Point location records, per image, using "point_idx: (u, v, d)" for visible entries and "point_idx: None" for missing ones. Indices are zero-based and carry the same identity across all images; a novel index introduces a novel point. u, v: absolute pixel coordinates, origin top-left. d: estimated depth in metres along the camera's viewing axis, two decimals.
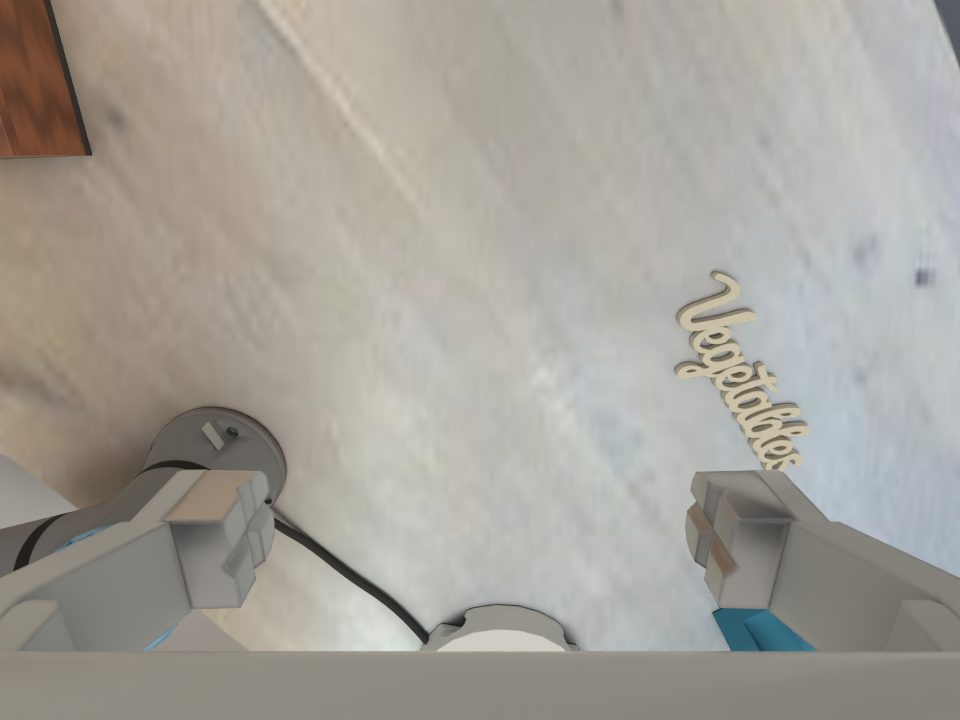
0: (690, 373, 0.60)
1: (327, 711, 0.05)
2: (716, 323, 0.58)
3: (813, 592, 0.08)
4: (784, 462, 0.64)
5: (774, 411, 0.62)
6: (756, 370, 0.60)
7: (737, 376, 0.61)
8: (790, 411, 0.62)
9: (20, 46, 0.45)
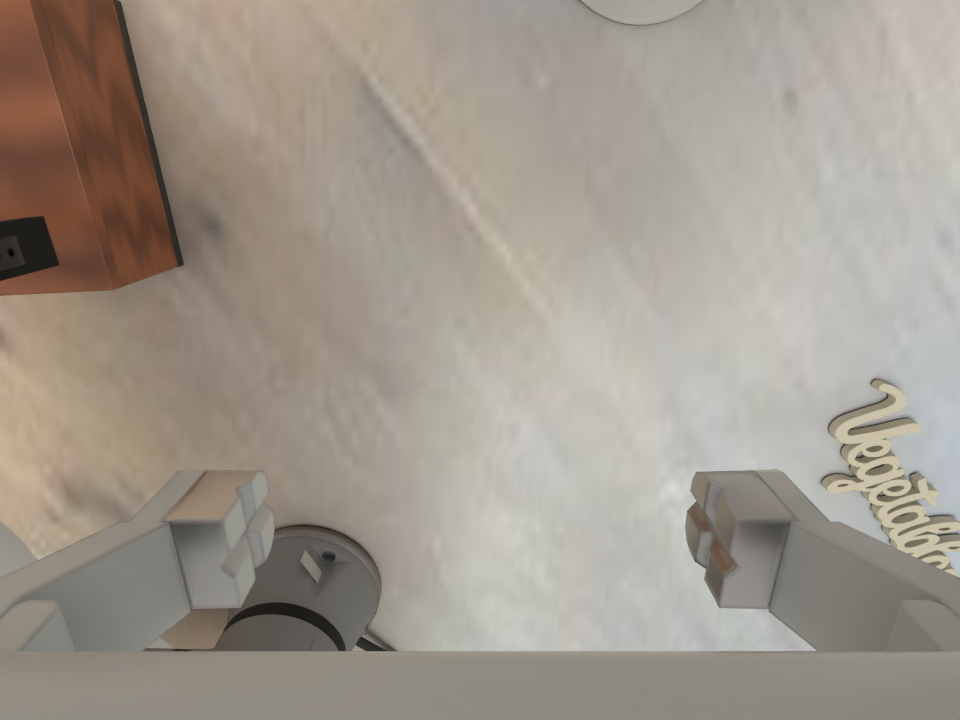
0: (841, 487, 0.54)
1: (327, 711, 0.05)
2: (876, 436, 0.52)
3: (813, 592, 0.08)
4: None
5: (931, 526, 0.55)
6: (914, 483, 0.54)
7: (892, 488, 0.54)
8: (949, 525, 0.55)
9: (118, 161, 0.39)
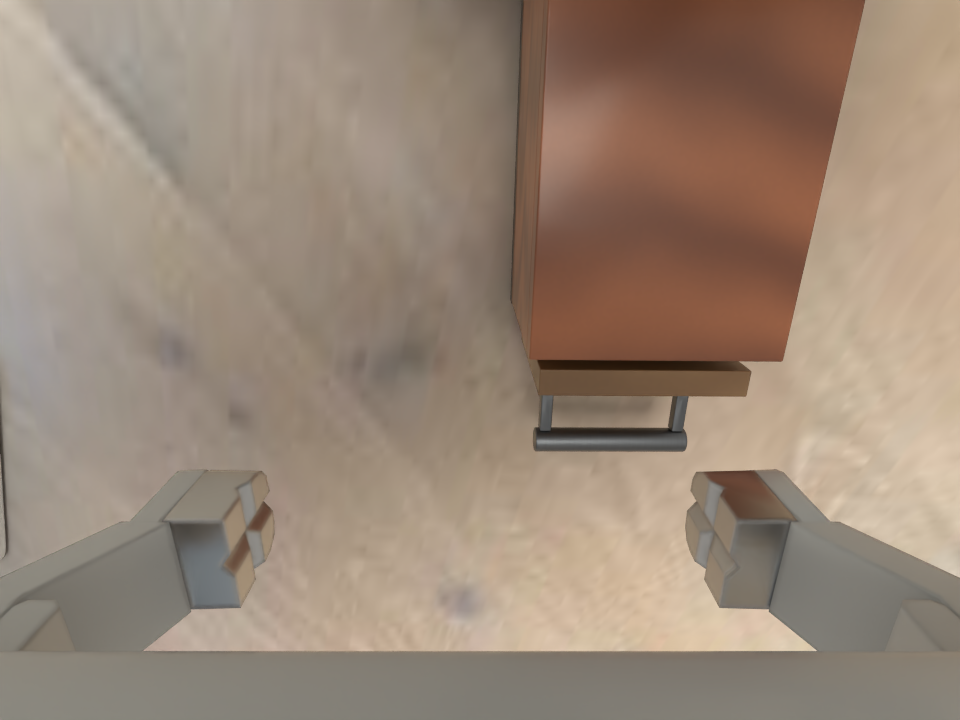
0: None
1: (327, 711, 0.05)
2: None
3: (813, 592, 0.08)
4: None
5: None
6: None
7: None
8: None
9: (531, 62, 0.22)
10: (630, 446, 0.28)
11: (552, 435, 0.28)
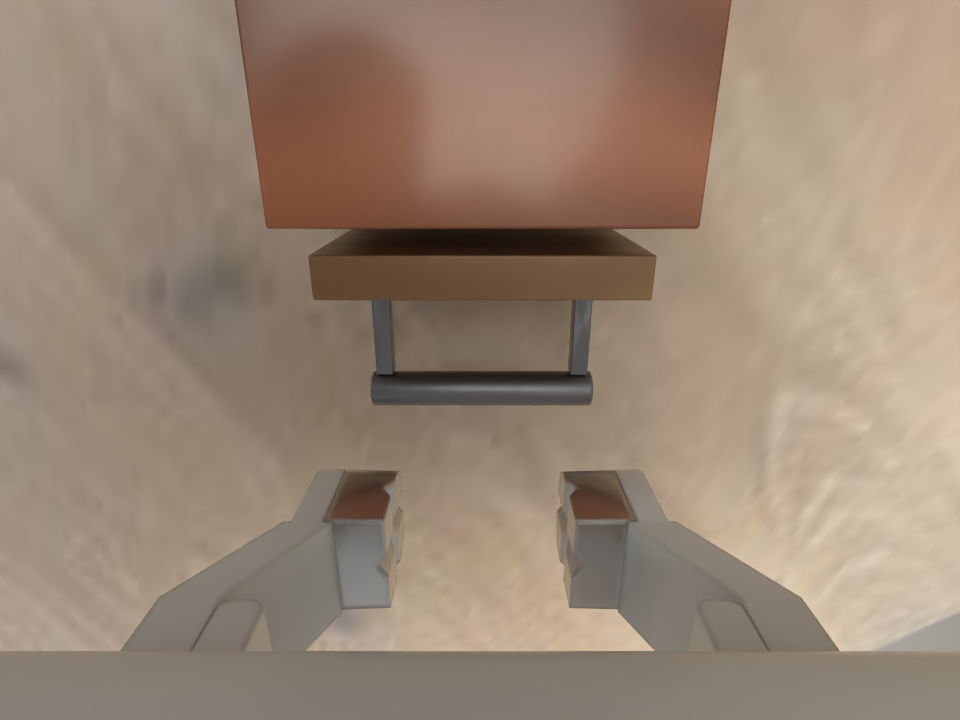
0: None
1: (327, 711, 0.05)
2: None
3: (648, 592, 0.08)
4: None
5: None
6: None
7: None
8: None
9: None
10: (509, 397, 0.19)
11: (394, 380, 0.19)
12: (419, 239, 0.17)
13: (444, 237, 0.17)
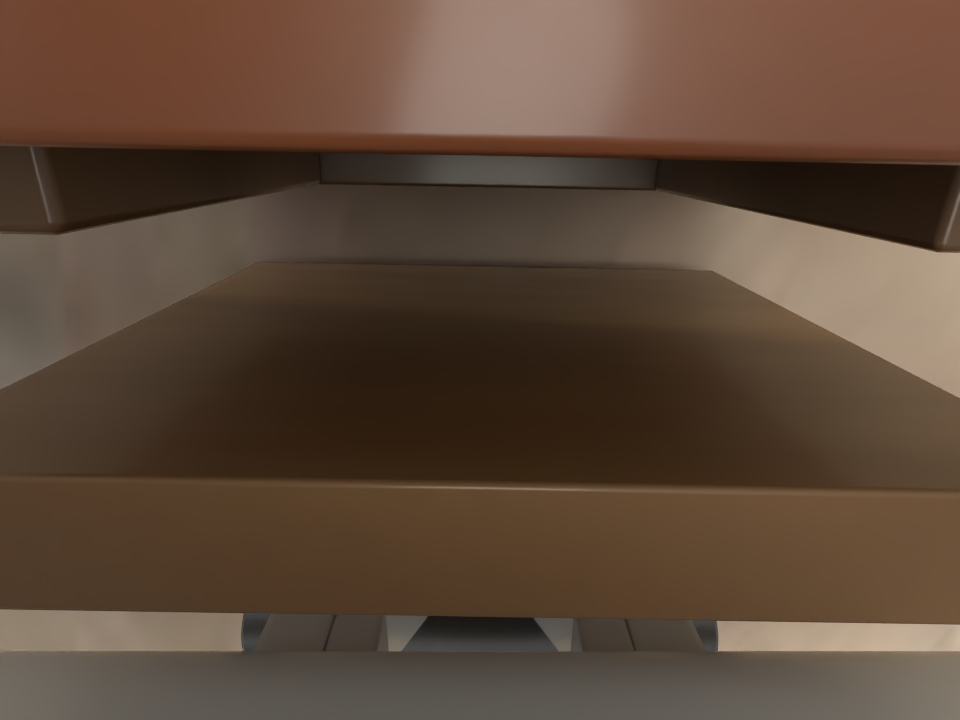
0: None
1: (327, 711, 0.05)
2: None
3: None
4: None
5: None
6: None
7: None
8: None
9: None
10: None
11: None
12: (321, 346, 0.06)
13: (391, 337, 0.06)
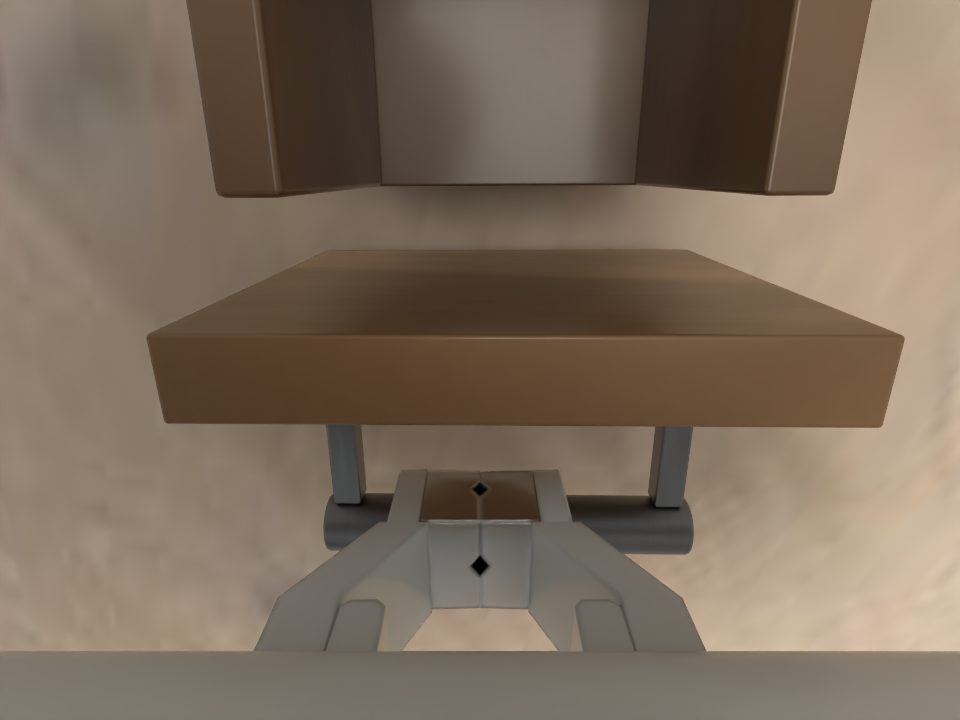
0: None
1: (327, 711, 0.05)
2: None
3: (550, 592, 0.08)
4: None
5: None
6: None
7: None
8: None
9: None
10: None
11: (363, 514, 0.12)
12: (397, 289, 0.09)
13: (443, 284, 0.09)
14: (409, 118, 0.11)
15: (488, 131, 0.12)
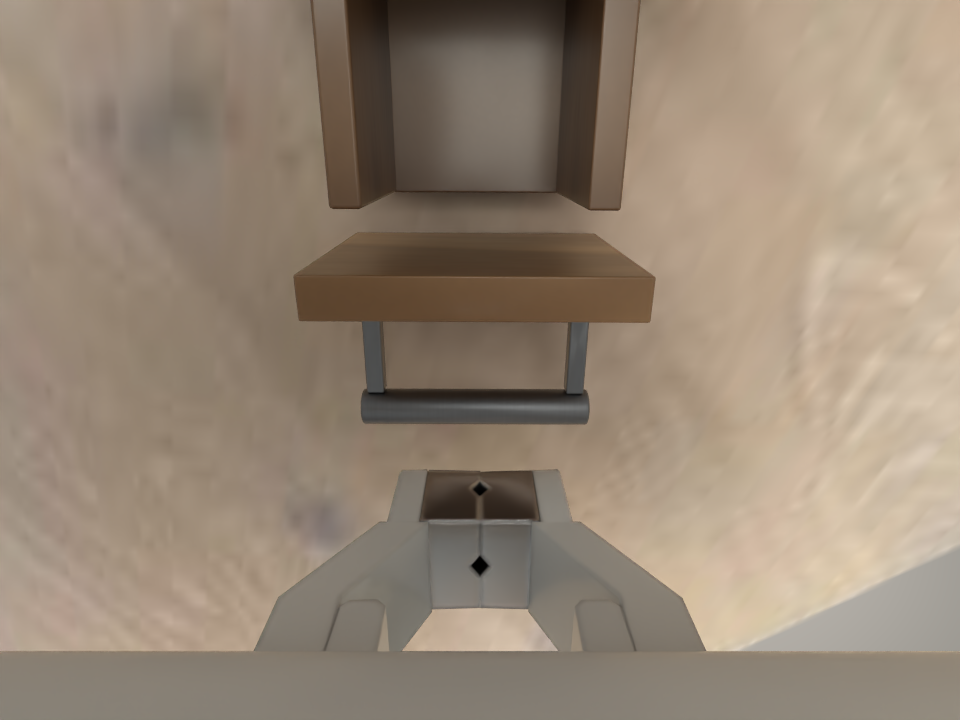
0: None
1: (327, 711, 0.05)
2: None
3: (550, 592, 0.08)
4: None
5: None
6: None
7: None
8: None
9: None
10: (503, 416, 0.19)
11: (385, 398, 0.19)
12: (410, 256, 0.16)
13: (436, 253, 0.16)
14: (414, 149, 0.18)
15: (463, 158, 0.18)
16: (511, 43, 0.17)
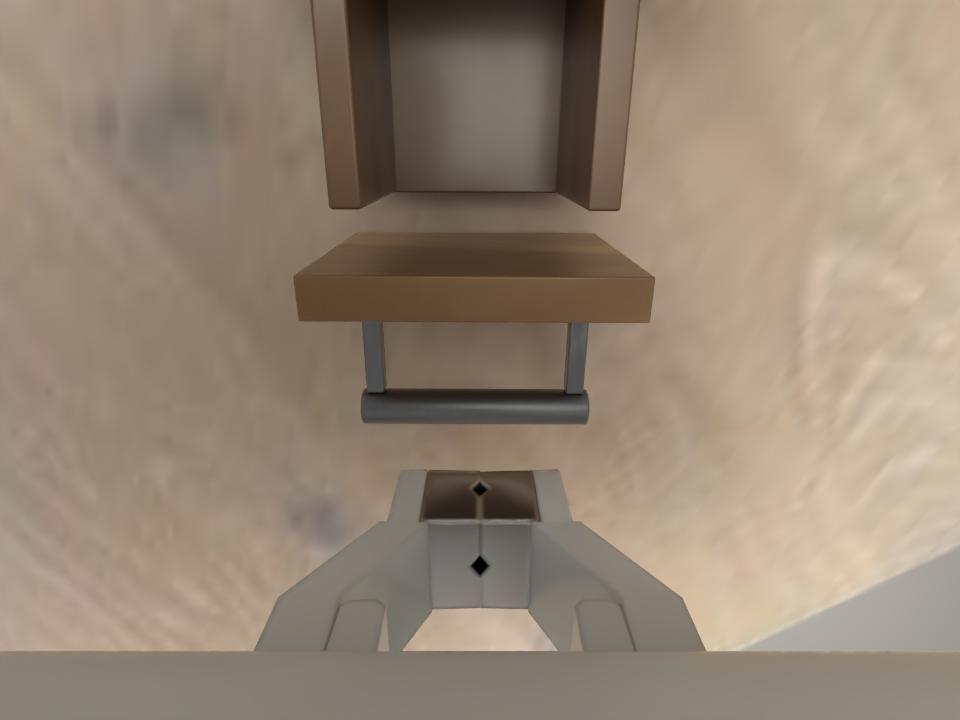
0: None
1: (327, 711, 0.05)
2: None
3: (550, 592, 0.08)
4: None
5: None
6: None
7: None
8: None
9: None
10: (503, 416, 0.19)
11: (385, 398, 0.19)
12: (410, 256, 0.16)
13: (436, 254, 0.16)
14: (414, 149, 0.18)
15: (463, 158, 0.18)
16: (511, 43, 0.17)
